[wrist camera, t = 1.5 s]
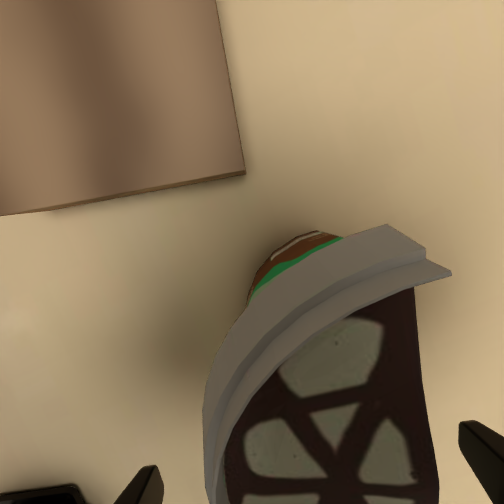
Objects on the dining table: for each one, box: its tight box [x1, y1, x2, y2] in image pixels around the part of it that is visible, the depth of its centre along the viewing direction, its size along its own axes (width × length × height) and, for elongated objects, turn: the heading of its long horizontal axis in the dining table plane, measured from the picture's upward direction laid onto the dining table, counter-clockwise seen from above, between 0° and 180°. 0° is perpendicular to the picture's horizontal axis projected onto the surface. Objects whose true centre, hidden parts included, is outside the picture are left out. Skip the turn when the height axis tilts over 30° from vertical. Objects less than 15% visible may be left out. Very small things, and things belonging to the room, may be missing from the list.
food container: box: [202, 224, 452, 504], centre depth 11 cm, size 12×6×10 cm, turn 13°
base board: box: [0, 0, 246, 216], centre depth 10 cm, size 11×15×3 cm
